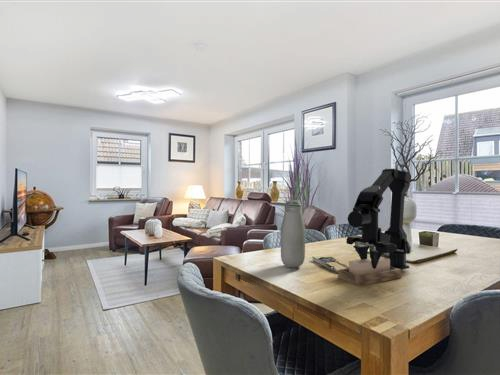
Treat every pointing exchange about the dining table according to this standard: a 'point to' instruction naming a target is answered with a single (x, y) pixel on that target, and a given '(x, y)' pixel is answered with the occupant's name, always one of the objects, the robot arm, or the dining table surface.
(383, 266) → the pale pink bar
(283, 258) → the grey vase
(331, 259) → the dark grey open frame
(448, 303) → the dining table surface
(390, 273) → the brown wooden tray
